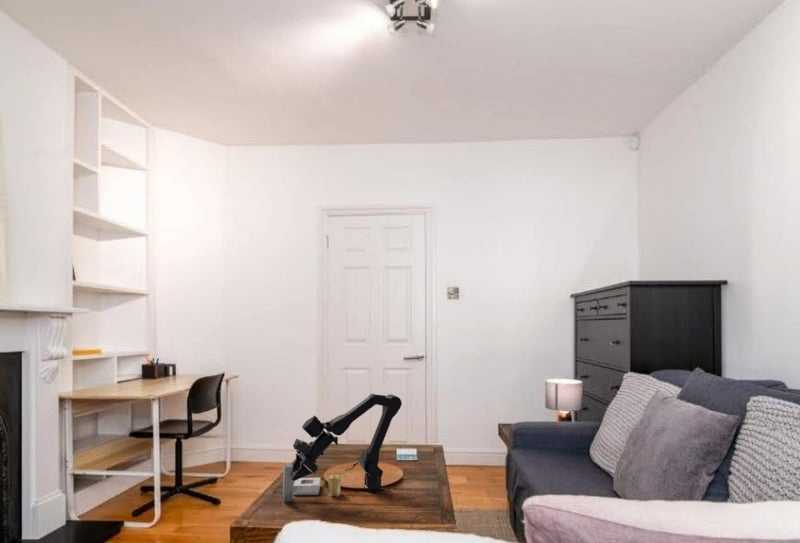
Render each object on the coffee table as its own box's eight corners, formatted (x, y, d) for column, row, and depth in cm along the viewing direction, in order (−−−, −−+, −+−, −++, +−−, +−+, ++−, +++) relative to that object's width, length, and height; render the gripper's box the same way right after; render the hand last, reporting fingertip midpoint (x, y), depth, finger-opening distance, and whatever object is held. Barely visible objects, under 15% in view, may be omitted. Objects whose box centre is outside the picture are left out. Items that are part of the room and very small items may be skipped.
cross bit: (343, 494, 207) (343, 476, 208) (333, 497, 204) (334, 479, 204) (334, 491, 211) (334, 473, 211) (325, 494, 207) (325, 476, 207)
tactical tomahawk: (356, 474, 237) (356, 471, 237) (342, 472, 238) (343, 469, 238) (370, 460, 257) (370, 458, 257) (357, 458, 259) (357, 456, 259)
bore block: (320, 486, 217) (320, 477, 218) (318, 494, 207) (318, 485, 208) (296, 486, 216) (296, 478, 217) (293, 495, 207) (293, 486, 207)
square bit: (291, 498, 203) (291, 464, 204) (292, 501, 200) (293, 466, 201) (282, 499, 202) (283, 465, 203) (283, 502, 199) (284, 467, 200)
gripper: (302, 426, 214) (273, 456, 209) (309, 437, 196) (279, 469, 192) (320, 445, 216) (293, 474, 211) (329, 456, 198) (300, 489, 194)
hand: (291, 476), depth 202 cm, fingers open, 9 cm apart
